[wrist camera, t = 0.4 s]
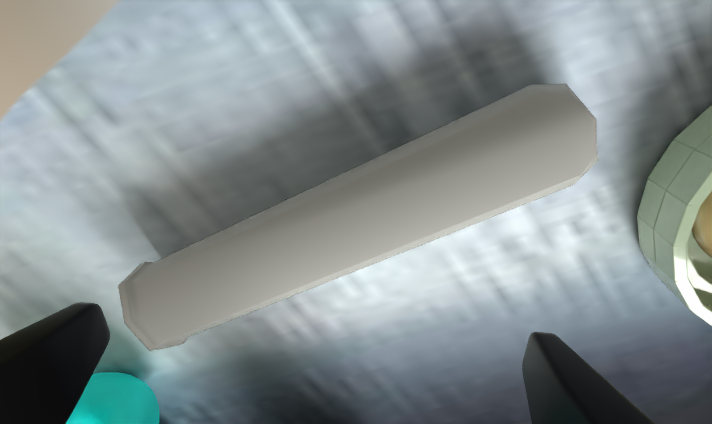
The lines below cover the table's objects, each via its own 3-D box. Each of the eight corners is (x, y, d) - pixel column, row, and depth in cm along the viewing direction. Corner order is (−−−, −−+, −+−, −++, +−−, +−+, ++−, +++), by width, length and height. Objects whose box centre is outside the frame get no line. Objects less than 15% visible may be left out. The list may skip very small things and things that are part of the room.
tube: (588, 45, 15) (101, 278, 22) (643, 178, 15) (145, 368, 22) (554, 71, 20) (168, 253, 27) (596, 170, 21) (203, 326, 27)
